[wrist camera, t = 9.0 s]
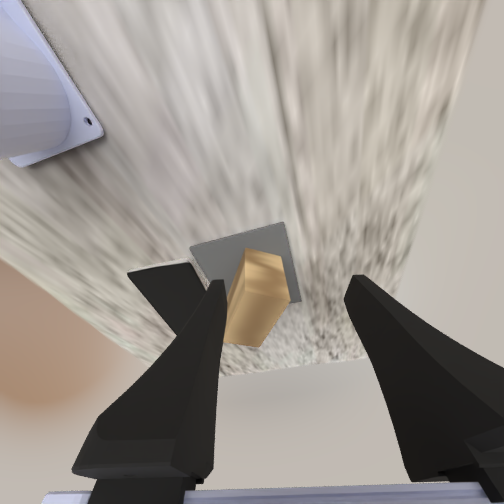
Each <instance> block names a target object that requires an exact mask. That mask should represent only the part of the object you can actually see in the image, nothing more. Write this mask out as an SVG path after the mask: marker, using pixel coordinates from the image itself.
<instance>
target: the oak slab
mask: <svg viewBox="0 0 504 504" xmlns="http://www.w3.org/2000/svg"><path fill="white" fill-rule="evenodd" d="M290 301H291V300H290V296H289V291H288V286H287V282H286V277H285V273H284V268H283V264H282V259H281V256H277V255H273V254H269V253H265V252H261V251H257V250H254V249H250V248H246V247H245V250H244V253H243V255H242V258H241V261H240V264H239V266H238V269H237V272H236V274H235V277H234V280H233V282H232V285H231V288H230V290H229V293H228V296H227V302H228V305H227V321H226V328H225V334H224V340H223V342H225V343H232V344H239V345H246V346H252V347H260V346H261V344H262V343H263V341H264V340H265V338H266V337H267V335H268V334H269V332H270V331H271V329H272V328H273V326H274V325H275V323H276V322H277V320H278V319H279V317H280V316H281V314H282V313H283V311H284V310H285V308H286V307H287V305H288V304H289V302H290Z"/></svg>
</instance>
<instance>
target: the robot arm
mask: <svg viewBox="0 0 504 504" xmlns="http://www.w3.org/2000/svg"><path fill="white" fill-rule="evenodd" d="M87 118H89V119H90V120H91V122H92V125H90V124H89V123H88V121H87ZM103 134H104V130H103V128H102V126H101V125H100V123H99V122H98V120H97V118H96V117H95V115H94V114H93V112H92V111H91V109H90V107H89V106H88V104H87V103H86V101H85V100H84V98H83V97H82V95H81V93H80V92H79V90H78V89H77V87H76V86H75V84H74V83H73V81H72V79H71V78H70V76H69V75H68V73H67V72H66V70H65V68H64V67H63V65H62V64H61V62H60V61H59V59H58V58H57V56H56V54H55V53H54V51H53V50H52V48H51V47H50V45H49V44H48V42H47V40H46V39H45V37H44V36H43V34H42V33H41V31H40V29H39V28H38V26H37V25H36V23H35V22H34V20H33V19H32V17H31V15H30V14H29V12H28V11H27V9H26V8H25V6H24V5H23V3H22V1H21V0H0V160H2V159H6V158H8V159H9V160H10V161H11V162H12V163H13V164H15V165H16V166H18V167H26V166H29V165H32V164H34V163H37V162H39V161H42V160H44V159H47V158H49V157H52V156H54V155H57V154H60V153H62V152H65V151H67V150H70V149H72V148H75V147H77V146H80V145H82V144H85V143H87V142H90V141H92V140H95V139H98V138H100V137H102V136H103ZM344 302H345V305H346V309H347V311H348V314H349V317H350V319H351V321H352V323H353V325H354V327H355V330H356V332H357V334H358V336H359V338H360V340H361V342H362V344H363V346H364V348H365V350H366V352H367V354H368V356H369V358H370V361H371V363H372V365H373V368H374V371H375V373H376V376H377V379H378V381H379V384H380V387H381V390H382V393H383V395H384V398H385V401H386V404H387V407H388V410H389V414H390V417H391V420H392V423H393V426H394V430H395V433H396V437H397V440H398V444H399V447H400V451H401V455H402V459H403V463H404V466H405V469H406V471H407V473H408V476H409V478H410V480H411V482H437V481H449V482H450V483H423V484H391V485H358V486H324V487H294V488H293V487H292V488H259V489H228V490H195V487H196V484H203V483H204V478H207V476H208V475H209V474H210V472H211V471H212V470H213V464H214V443H215V423H216V406H217V391H218V378H219V366H220V358H221V352H222V346H223V340H224V334H225V328H226V321H227V305H228V302H227V296H226V290H225V283H224V279H216V280H212V281H211V283H210V285H209V287H208V289H207V291H206V293H205V294H204V296H203V298H202V300H201V301H200V303H199V305H198V306H197V308H196V309H195V311H194V313H193V314H192V316H191V317H190V319H189V320H188V321H187V323H186V324H185V326H184V327H183V329H182V330H181V331H180V333H179V334H178V335H177V336H176V338H175V339H174V340H173V341H172V343H171V344H170V345H169V346H168V347H167V349H166V350H165V351H164V352H163V353H162V354H161V356H160V357H159V358H158V359H157V360H156V361H155V362H154V363H153V364H152V366H151V367H150V368H149V369H148V370H147V371H146V372H145V373H144V374H143V375H142V376H141V377H140V378H139V379H138V380H137V381H136V382H135V383H134V384H133V385H132V386H131V387H130V388H129V389H128V390H127V391H126V392H124V393H123V394H122V395H121V396H120V397H119V398H118V399H117V400H116V401H115V402H114V403H112V404H111V405H110V406H109V407H108V408H107V409H106V410H105V411H104V412H103V413H102V414H100V415H99V416H98V418H97V420H96V422H95V423H94V425H93V427H92V428H91V430H90V432H89V434H88V436H87V438H86V440H85V442H84V444H83V446H82V448H81V450H80V452H79V454H78V456H77V459H76V461H75V463H74V465H73V467H72V473H74V474H76V475H79V476H84V477H88V478H93V479H97V481H96V484H95V486H94V488H93V491H55V492H49V493H47V494H46V495H45V497H44V499H43V501H42V503H41V504H504V368H503V367H501V366H499V365H497V364H495V363H493V362H491V361H489V360H488V359H486V358H484V357H482V356H480V355H478V354H477V353H475V352H473V351H472V350H470V349H468V348H466V347H465V346H463V345H461V344H459V343H458V342H456V341H455V340H453V339H451V338H449V337H448V336H446V335H445V334H443V333H442V332H440V331H439V330H437V329H436V328H434V327H432V326H431V325H429V324H428V323H426V322H425V321H424V320H422V319H421V318H419V317H418V316H417V315H415V314H414V313H412V312H411V311H410V310H408V309H407V308H405V307H404V306H403V305H402V304H400V303H399V302H398V301H396V300H395V299H394V298H393V297H391V296H390V295H389V294H388V293H386V292H385V291H384V290H383V289H381V288H380V287H379V286H378V285H376V284H375V283H374V282H373V281H371V280H370V279H369V278H368V277H366V276H365V275H353V276H352V278H351V281H350V284H349V286H348V289H347V291H346V294H345V297H344Z"/></svg>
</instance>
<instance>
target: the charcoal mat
mask: <svg viewBox="0 0 504 504" xmlns="http://www.w3.org/2000/svg"><path fill="white" fill-rule="evenodd" d="M245 247H246V248H250V249H254V250H257V251H261V252H265V253H269V254H273V255H277V256H281V259H282V264H283V268H284V273H285V277H286V282H287V286H288V291H289V296H290V300H291V301H290V302H289V304H290V303H295V302H300V301H301V296H300V292H299V288H298V283H297V279H296V274H295V270H294V265H293V261H292V257H291V252H290V248H289V243H288V239H287V235H286V230H285V226H284V222H281V223H277V224H273V225H269V226H266V227H262V228H258V229H254V230H251V231H247V232H243V233H240V234H236V235H232V236H228V237H225V238H221V239H217V240H213V241H210V242H206V243H202V244H198V245H195V246H191V247H190V251H191V252H192V254H193V256H194V257H195V259H196V261H197V262H198V264H199V266H200V267H201V269H202V270H203V272H204V274H205V275H206V277H207V279H208V280H209V282H210V283H211V281H212V280H216V279H224V283H225V290H226V296H228V293H229V290H230V288H231V285H232V282H233V280H234V277H235V274H236V272H237V269H238V266H239V264H240V261H241V258H242V255H243V253H244V250H245Z"/></svg>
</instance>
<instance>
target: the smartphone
mask: <svg viewBox="0 0 504 504" xmlns="http://www.w3.org/2000/svg"><path fill="white" fill-rule="evenodd" d="M127 275H128V277H129V279H130V280H131V281H132V282H133V283H134V285H135V286H136V287H137V288H138V289H139V291H140V292H141V293H142V294H143V295H144V297H145V298H146V299H147V300H148V301H149V303H150V304H151V305H152V306H153V307H154V309H155V310H156V311H157V312H158V313H159V315H160V316H161V317H162V318H163V320H164V321H165V322H166V323H167V324H168V326H169V327H170V328H171V329H172V330H173V332H174V333H175V334H176V335H178V334H179V333H180V331H181V330H182V329H183V327H184V326H185V324H186V323H187V321H188V320H189V319H190V317H191V316H192V314H193V313H194V311H195V309H196V308H197V306H198V305H199V303H200V301H201V300H202V298H203V296H204V294H205V293H206V291H207V289H208V288H207V286H206V284H205V282H204V281H203V279H202V277H201V275H200V273H199V271H198V269H197V268H196V266H195V264H194V262H193V260H191V259H190V258H189V257H187V258H182V259H177V260H172V261H167V262H162V263H158V264H153V265H148V266H143V267H138V268H133V269H130V270H129V271H128V272H127Z"/></svg>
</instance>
